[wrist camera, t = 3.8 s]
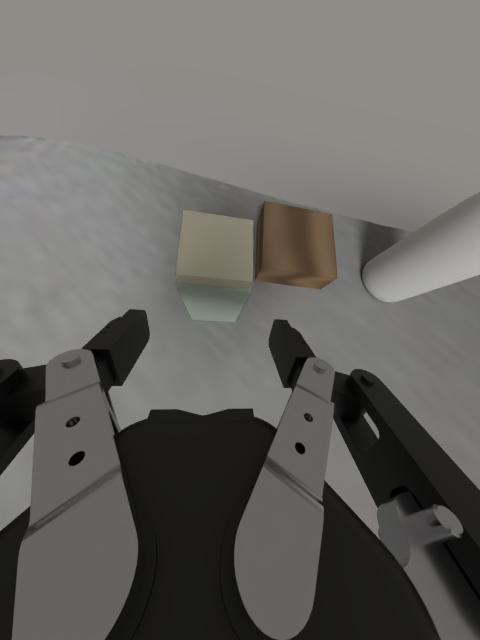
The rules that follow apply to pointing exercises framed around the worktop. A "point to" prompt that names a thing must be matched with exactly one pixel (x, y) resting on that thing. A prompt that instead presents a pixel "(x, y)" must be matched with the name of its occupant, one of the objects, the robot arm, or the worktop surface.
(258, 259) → the walnut box
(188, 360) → the worktop surface
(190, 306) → the tea tin
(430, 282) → the milk bottle
